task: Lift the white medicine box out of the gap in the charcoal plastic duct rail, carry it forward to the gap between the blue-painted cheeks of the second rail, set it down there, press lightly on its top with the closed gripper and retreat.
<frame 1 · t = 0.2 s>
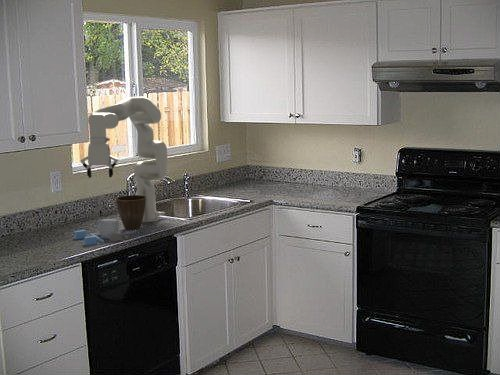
hand: (100, 177, 330), 30 cm above the worktop, tool pointing down, fingers open, 9 cm apart
medicine box: (110, 238, 338), on the worktop
blue duct: (85, 241, 332), on the worktop
plant pot: (132, 229, 356), on the worktop
grey duct: (110, 237, 338), on the worktop
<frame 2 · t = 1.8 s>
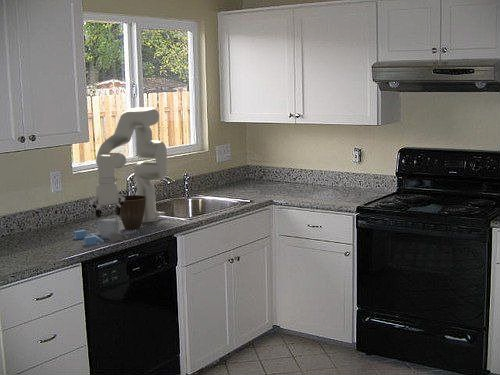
hand: (108, 216, 336), 10 cm above the worktop, tool pointing down, fingers open, 9 cm apart
nothing on the worktop moved.
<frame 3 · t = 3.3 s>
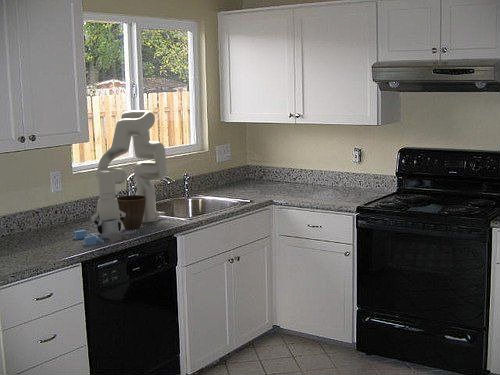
hand: (109, 231, 337), 3 cm above the worktop, tool pointing down, fingers closed on medicine box, 8 cm apart
medicine box: (109, 238, 338), on the worktop, touching gripper
everything else where it was.
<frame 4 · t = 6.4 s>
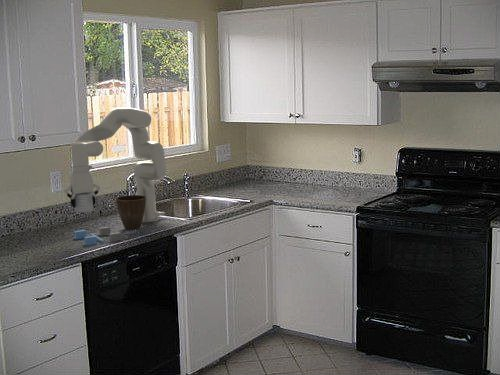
hand: (83, 205, 329), 17 cm above the worktop, tool pointing down, fingers closed on medicine box, 8 cm apart
medicine box: (83, 212, 330), point 14 cm above the worktop, touching gripper
everything else where it was.
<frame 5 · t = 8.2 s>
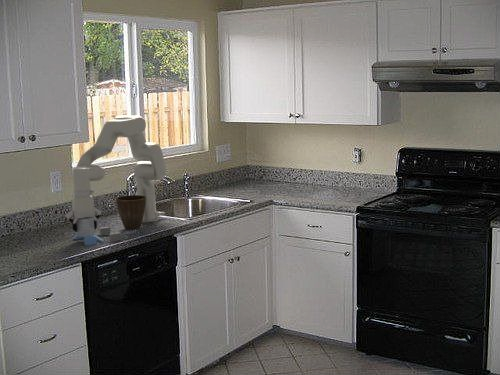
hand: (84, 230, 331), 5 cm above the worktop, tool pointing down, fingers closed on medicine box, 8 cm apart
medicine box: (85, 236, 332), point 2 cm above the worktop, touching gripper
everything else where it was.
when the fingers open (3 cm above the worktop, at t = 9.8 s): medicine box stays where it is, on the worktop.
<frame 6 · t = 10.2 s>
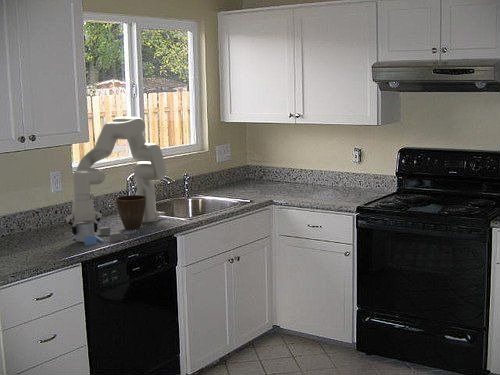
hand: (85, 233, 331), 4 cm above the worktop, tool pointing down, fingers open, 9 cm apart
medicine box: (85, 241, 332), on the worktop
everything else where it was.
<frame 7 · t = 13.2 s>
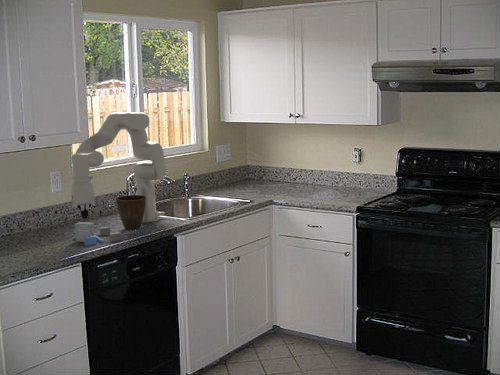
hand: (85, 218, 331), 11 cm above the worktop, tool pointing down, fingers closed
nothing on the worktop moved.
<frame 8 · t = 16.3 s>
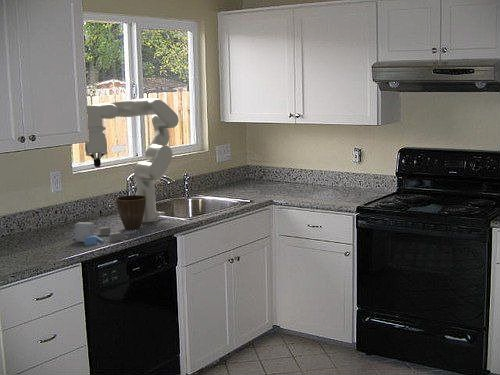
hand: (97, 166, 350), 32 cm above the worktop, tool pointing down, fingers closed
nothing on the worktop moved.
at the end: medicine box inside the target area (0.2 cm from its centre), on the worktop; medicine box tilted 0°; the gripper is holding nothing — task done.
